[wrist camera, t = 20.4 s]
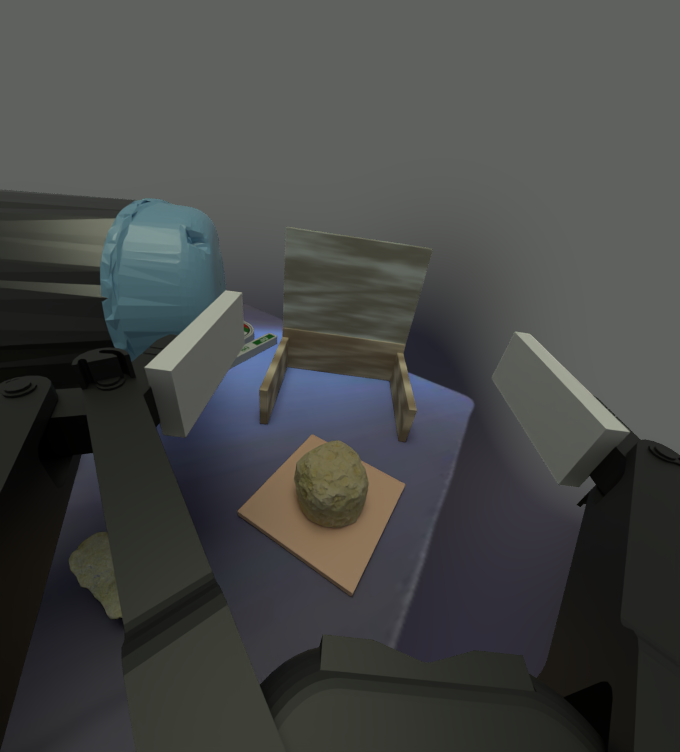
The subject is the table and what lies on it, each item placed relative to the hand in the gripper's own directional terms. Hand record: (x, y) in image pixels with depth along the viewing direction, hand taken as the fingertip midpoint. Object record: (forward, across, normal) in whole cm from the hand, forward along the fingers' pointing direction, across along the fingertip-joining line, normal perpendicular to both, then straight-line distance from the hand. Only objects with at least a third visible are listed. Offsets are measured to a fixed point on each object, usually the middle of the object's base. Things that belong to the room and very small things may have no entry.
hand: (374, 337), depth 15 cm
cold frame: (+32, 0, -30) cm, 44 cm away
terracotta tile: (+11, 0, -30) cm, 32 cm away
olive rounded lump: (+11, 0, -29) cm, 31 cm away
